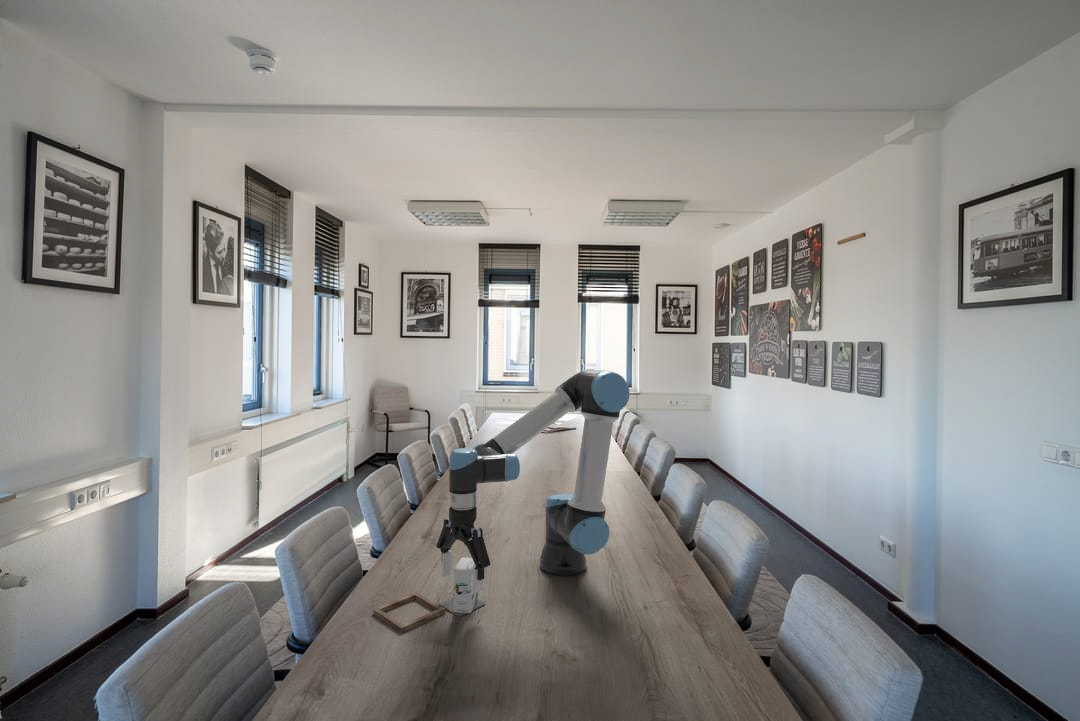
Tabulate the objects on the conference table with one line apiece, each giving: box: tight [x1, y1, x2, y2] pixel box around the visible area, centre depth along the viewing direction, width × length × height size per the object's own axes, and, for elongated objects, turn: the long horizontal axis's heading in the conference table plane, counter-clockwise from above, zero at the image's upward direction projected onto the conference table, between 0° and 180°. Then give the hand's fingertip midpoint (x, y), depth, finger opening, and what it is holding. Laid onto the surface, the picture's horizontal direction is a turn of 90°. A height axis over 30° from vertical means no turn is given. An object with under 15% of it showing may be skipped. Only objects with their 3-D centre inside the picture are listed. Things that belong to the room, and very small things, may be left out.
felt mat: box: [438, 596, 486, 618], centre depth 144 cm, size 9×9×1 cm
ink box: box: [453, 557, 479, 614], centre depth 142 cm, size 8×5×12 cm, turn 174°
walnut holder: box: [372, 591, 446, 634], centre depth 139 cm, size 13×13×1 cm
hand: (462, 582), depth 143 cm, fingers open, 13 cm apart
